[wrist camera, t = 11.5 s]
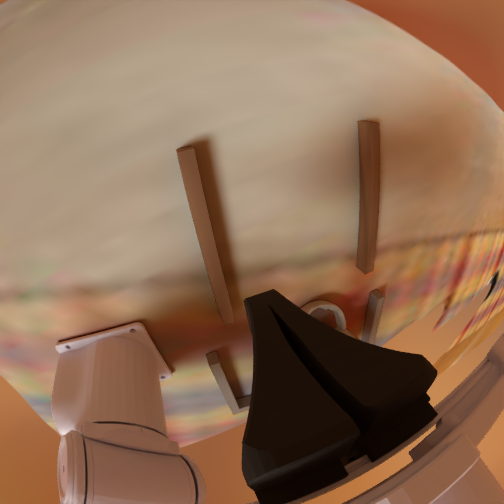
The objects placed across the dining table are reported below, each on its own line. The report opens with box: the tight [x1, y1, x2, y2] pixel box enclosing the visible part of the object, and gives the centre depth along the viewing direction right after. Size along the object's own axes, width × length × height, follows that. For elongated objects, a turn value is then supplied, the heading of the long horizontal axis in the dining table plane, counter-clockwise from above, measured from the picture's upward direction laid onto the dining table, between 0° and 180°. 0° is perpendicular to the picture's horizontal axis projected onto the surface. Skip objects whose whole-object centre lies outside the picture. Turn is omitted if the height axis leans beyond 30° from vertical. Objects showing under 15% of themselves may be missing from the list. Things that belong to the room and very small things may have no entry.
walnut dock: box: [176, 121, 380, 326], centre depth 20 cm, size 15×14×2 cm
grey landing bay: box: [206, 289, 385, 415], centre depth 29 cm, size 20×12×2 cm, turn 98°
